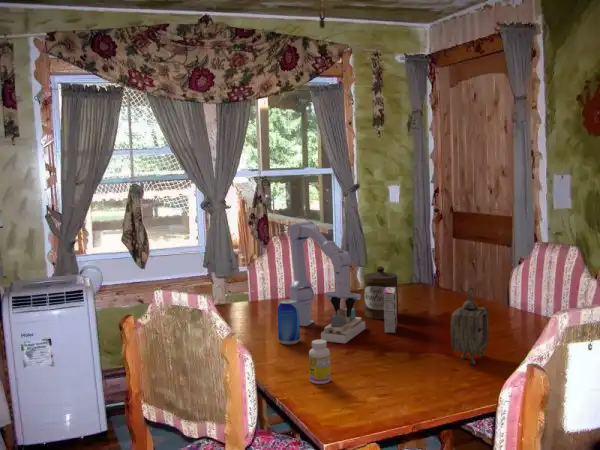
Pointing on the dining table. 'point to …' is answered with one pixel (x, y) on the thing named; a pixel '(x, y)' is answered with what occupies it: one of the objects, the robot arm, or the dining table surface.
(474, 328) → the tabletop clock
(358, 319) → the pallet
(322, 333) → the dock
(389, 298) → the candy bar box
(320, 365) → the supplement bottle
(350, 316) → the block
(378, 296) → the wooden container
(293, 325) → the beer can
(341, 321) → the grey cube
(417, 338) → the dining table surface
